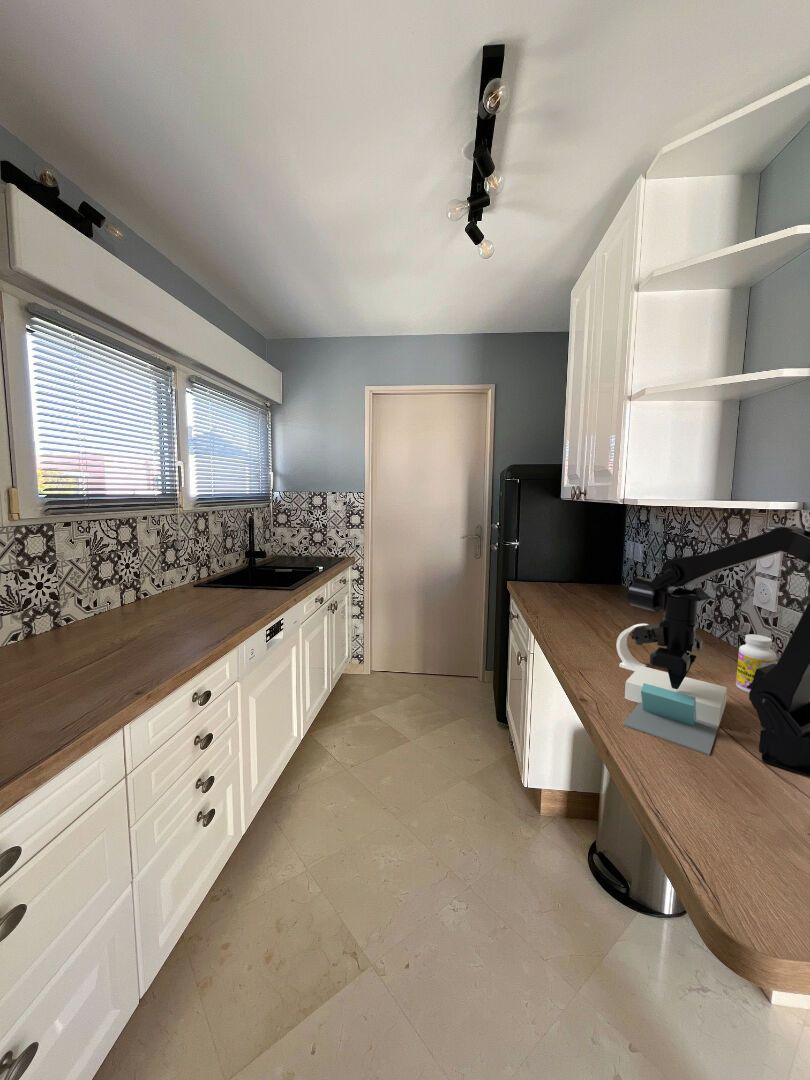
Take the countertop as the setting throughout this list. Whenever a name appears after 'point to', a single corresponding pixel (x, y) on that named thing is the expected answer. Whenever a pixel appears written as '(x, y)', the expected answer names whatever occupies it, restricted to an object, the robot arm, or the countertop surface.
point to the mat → (674, 730)
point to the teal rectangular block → (669, 704)
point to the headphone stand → (627, 651)
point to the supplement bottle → (753, 659)
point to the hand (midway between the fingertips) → (675, 688)
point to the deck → (706, 694)
